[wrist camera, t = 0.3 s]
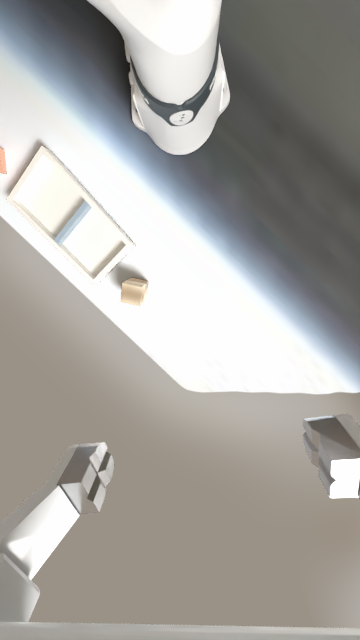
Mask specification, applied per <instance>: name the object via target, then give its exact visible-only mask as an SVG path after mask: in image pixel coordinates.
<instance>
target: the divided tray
mask: <svg viewBox="0 0 360 640" xmlns="http://www.w3.org/2000/svg"><path fill="white" fill-rule="evenodd" d="M6 200H7V201H8V202H9V203H10V204H11V205H12V206H13V207H14V208H15V209H16V210H17V211H18V212H19V213H20V214H21V215H22V216H23V217H24V218H25V219H26V220H27V221H29V222H30V223H31V224H32V225H33V226H34V227H35V228H36V229H37V230H38V231H39V232H40V233H41V234H42V235H43V236H44V237H45V238H46V239H47V240H48V241H49V242H50V243H51V244H52V245H53V246H54V247H55V248H56V249H57V250H58V251H59V252H60V253H61V254H62V255H63V256H64V257H65V258H66V259H67V260H68V261H69V262H70V263H71V264H72V265H73V266H74V267H75V268H77V269H78V270H79V271H80V272H81V273H82V274H83V275H84V276H85V277H86V278H87V279H88V280H89V281H90V282H91V283H92V284H93V285H96V284H98V283H99V282H100V281H101V280H102V279H103V278H104V277H105V276H106V275H107V274H108V273H109V272H110V271H111V270H112V269H113V268H114V267H115V266H116V265H117V264H118V263H119V262H120V261H121V260H122V259H123V258H124V257H125V256H126V254H127V253H128V252H129V251H130V250H131V249H132V248H133V247H134V246H135V244H134V243H133V241H132V240H131V239H130V238H129V237H128V236H127V235H126V234H125V233H124V231H123V230H122V229H121V228H120V227H119V226H118V225H117V224H116V223H115V221H114V220H113V219H112V218H111V217H110V216H109V215H108V214H107V213H106V211H105V210H104V209H103V208H102V207H101V206H100V205H99V204H98V203H97V201H96V200H95V199H94V198H93V197H92V196H91V195H90V194H89V193H88V191H87V190H86V189H85V188H84V187H83V186H82V185H81V184H80V183H79V181H78V180H77V179H76V178H75V177H74V176H73V175H72V174H71V173H70V171H69V170H68V169H67V168H66V167H65V166H64V165H63V164H62V163H61V161H60V160H59V159H58V158H57V157H56V156H55V155H54V154H53V153H52V151H50V150H48V149H47V148H45V147H43V146H41V147H40V149H39V150H38V152H37V153H36V155H35V156H34V158H33V159H32V161H31V162H30V164H29V165H28V167H27V169H26V170H25V172H24V173H23V175H22V176H21V178H20V179H19V181H18V182H17V184H16V185H15V187H14V188H13V190H12V192H11V193H10V195H9V196H8V198H7V199H6Z"/></svg>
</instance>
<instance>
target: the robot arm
mask: <svg viewBox="0 0 360 640" xmlns="http://www.w3.org/2000/svg"><path fill="white" fill-rule="evenodd" d="M87 1H88V2H89V3H91V4H92V5H93V6H94V7H96V8H97V9H98V10H99V11H100V12H101V13H103V14H104V15H105V16H106V17H107V18H108V19H109V20H110V21H111V22H112V23H113V24H114V25H115V26H116V28H117V29H118V30H119V31H120V33H121V35H122V37H123V39H124V42H125V53H126V58H127V61H128V62H129V63H130V72H129V81H130V84H131V103H132V120H133V123H134V125H135V126H136V127H137V128H139V129H140V130H142V131H144V132H146V133H147V134H148V135H149V136H150V137H151V138H152V140H153V141H154V142H155V143H156V145H157V146H159V147H160V148H161V149H162V150H164V151H166V152H168V153H171V154H175V155H184V154H188V153H191V152H193V151H195V150H196V149H198V148H199V147H200V146H202V145H203V144H204V142H205V141H206V140H207V139H208V137H209V136H210V134H211V132H212V130H213V128H214V125H215V123H216V120H217V118H218V117H219V115H220V114H221V113H222V112H223V111H224V110H225V109H226V107H227V106H228V104H229V101H230V92H229V87H228V83H227V78H226V73H225V68H224V63H223V59H222V54H221V49H220V44H219V33H218V28H219V19H220V10H221V2H222V0H87ZM223 90H224V92H223ZM137 112H138V113H137ZM303 428H304V430H305V431H306V432H305V433H304V434H303V442H304V446H305V450H306V452H307V455H308V457H309V459H310V461H311V463H312V464H314V465H315V466H316V467H318V468H319V478H320V480H321V482H322V483H323V486H324V487H325V489H326V491H327V493H328V495H329V497H330V498H344V497H359V499H360V425H358V423H357V422H356V421H355V420H354V419H353V418H352V417H351V416H350V415H348V414H342V415H333V416H323V417H316V418H307V419H303ZM106 450H107V446H106V444H105V443H104V442H100V443H89V444H77V445H70V446H69V447H68V448H67V449H66V450H65V452H64V454H63V455H62V457H61V459H60V460H59V462H58V464H57V465H56V467H55V469H54V470H53V472H52V473H51V475H50V477H49V478H48V480H47V482H46V484H45V485H44V486H43V487H40V488H38V489H37V490H36V491H35V492H34V493H33V494H32V495H31V496H29V497H28V498H27V499H26V500H25V501H24V502H23V503H22V504H21V505H19V506H18V507H17V508H16V509H15V510H14V511H13V512H12V513H11V514H9V515H8V516H7V517H6V518H5V519H4V520H3V521H2V522H1V523H0V640H360V628H320V627H318V628H317V627H264V626H210V625H208V626H207V625H205V626H204V625H154V624H100V623H94V624H93V623H45V622H28V621H29V619H30V616H31V614H32V611H33V609H34V607H35V604H36V602H37V600H38V597H39V595H40V590H39V588H38V587H37V586H36V585H35V584H34V583H33V582H32V581H31V579H32V578H33V577H34V575H35V574H36V573H37V571H38V570H39V568H40V567H41V566H42V565H43V563H44V562H45V561H46V560H47V558H48V557H49V556H50V554H51V553H52V552H53V550H54V549H55V548H56V546H57V545H58V544H59V542H60V541H61V540H62V538H63V537H64V536H65V534H66V533H67V532H68V530H69V529H70V528H71V526H72V525H73V524H74V523H75V521H76V520H77V518H78V517H79V514H88V513H97V512H100V510H101V507H102V504H103V501H104V498H105V495H106V489H105V486H106V485H107V483H108V482H109V481H110V480H111V477H112V474H113V468H114V462H113V458H112V456H111V454H109V453H108V452H106Z"/></svg>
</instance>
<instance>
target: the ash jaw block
mask: <svg viewBox="0 0 360 640" xmlns="http://www.w3.org/2000/svg"><path fill="white" fill-rule="evenodd" d="M147 287H148V281H145V280H141V279H136V278H129V279H128V280H126V281H125V282H123V283H122V291H121V302H123V303H128V304H133V305H138V306H140V305H141V303H142V302H143V301H144V300H145V298H146V294H147Z"/></svg>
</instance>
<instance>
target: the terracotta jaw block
mask: <svg viewBox="0 0 360 640" xmlns="http://www.w3.org/2000/svg"><path fill="white" fill-rule="evenodd" d="M0 173H3V174H7V172H6V162H5V152H4V149H2V148H0Z"/></svg>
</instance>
